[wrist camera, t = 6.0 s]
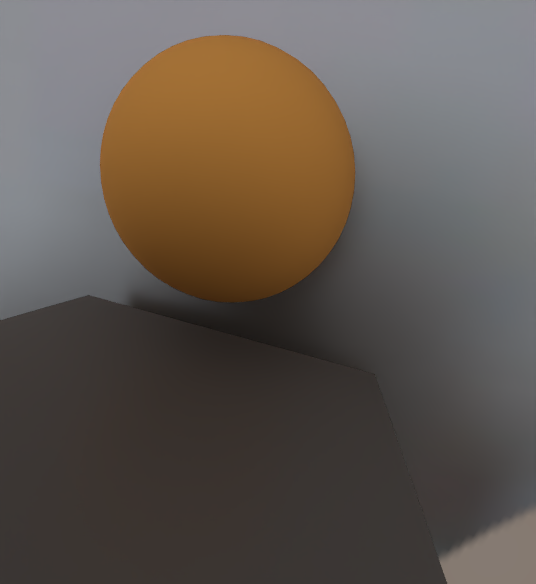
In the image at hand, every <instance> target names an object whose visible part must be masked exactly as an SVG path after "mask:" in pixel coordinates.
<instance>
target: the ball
mask: <svg viewBox="0 0 536 584" xmlns="http://www.w3.org/2000/svg"><path fill="white" fill-rule="evenodd" d="M100 171H101V184H102V189H103V194H104V200H105V203H106V206H107V209H108V213H109V215H110V218H111V220H112V222H113V224H114V227H115V229H116V231H117V232H118V234H119V236H120V237H121V239H122V241H123V242H124V244H125V245H126V246H127V248H128V249H129V250H130V252H131V253H132V254H133V255H134V257H135V258H136V259H137V260H138V261H139V262H140V263H141V264H142V265H143V266H144V267H145V268H146V269H147V270H148V271H149V272H151V273H152V274H153V275H154V276H155V277H157V278H158V279H160V280H161V281H163V282H164V283H166V284H168V285H169V286H171V287H173V288H175V289H177V290H179V291H182V292H184V293H186V294H188V295H191V296H194V297H197V298H201V299H204V300H210V301H215V302H231V303H234V302H247V301H254V300H259V299H263V298H267V297H270V296H272V295H275V294H278V293H281V292H282V291H284V290H286V289H288V288H290V287H292V286H294V285H295V284H297V283H298V282H300V281H301V280H303V279H304V278H305V277H307V276H308V275H309V274H310V273H311V272H312V271H313V270H314V269H316V268H317V267H318V266H319V265H320V264H321V262H322V261H323V260H324V259H325V258H326V256H327V255H328V254H329V253H330V251H331V250H332V248H333V247H334V245H335V244H336V242H337V240H338V239H339V237H340V235H341V232H342V230H343V228H344V226H345V224H346V221H347V218H348V215H349V212H350V209H351V204H352V198H353V193H354V184H355V162H354V152H353V147H352V142H351V137H350V134H349V131H348V128H347V125H346V122H345V120H344V117H343V115H342V114H341V112H340V110H339V108H338V106H337V104H336V102H335V100H334V99H333V97H332V96H331V94H330V93H329V91H328V90H327V88H326V87H325V86H324V84H323V83H322V82H321V81H320V80H319V79H318V78H317V76H316V75H315V74H314V73H313V72H312V71H311V70H310V69H308V68H307V67H306V66H305V65H304V64H302V63H301V62H300V61H299V60H297V59H296V58H294V57H292V56H291V55H289V54H287V53H286V52H284V51H282V50H281V49H279V48H277V47H275V46H272V45H270V44H267V43H265V42H262V41H260V40H255V39H251V38H247V37H241V36H229V35H219V36H205V37H200V38H195V39H191V40H187V41H184V42H182V43H179V44H177V45H174V46H172V47H170V48H168V49H166V50H165V51H163V52H161V53H159V54H158V55H156V56H155V57H154V58H152V59H151V60H150V61H148V62H147V63H146V64H145V65H144V66H143V67H142V68H141V69H140V70H139V71H138V72H137V73H136V74H135V75H134V76H133V77H132V78H131V79H130V80H129V82H128V83H127V84H126V85H125V87H124V88H123V89H122V91H121V93H120V94H119V96H118V98H117V100H116V101H115V103H114V105H113V107H112V110H111V112H110V114H109V117H108V119H107V123H106V126H105V130H104V133H103V139H102V145H101V156H100Z"/></svg>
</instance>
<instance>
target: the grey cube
mask: <svg viewBox="0 0 536 584" xmlns="http://www.w3.org/2000/svg"><path fill="white" fill-rule="evenodd" d="M0 584H447V582H446V579H445V577H444V573H443V570H442V568H441V565H440V562H439V559H438V556H437V553H436V550H435V547H434V544H433V542H432V539H431V536H430V533H429V530H428V527H427V524H426V521H425V518H424V516H423V513H422V510H421V507H420V504H419V501H418V498H417V495H416V492H415V490H414V487H413V484H412V481H411V478H410V475H409V472H408V469H407V466H406V463H405V461H404V458H403V455H402V452H401V449H400V446H399V443H398V440H397V437H396V435H395V432H394V429H393V426H392V423H391V420H390V417H389V414H388V411H387V409H386V406H385V403H384V400H383V397H382V394H381V391H380V388H379V385H378V383H377V380H376V377H375V374H372V373H369V372H365V371H361V370H358V369H354V368H351V367H347V366H343V365H340V364H336V363H332V362H329V361H325V360H322V359H318V358H314V357H311V356H307V355H303V354H300V353H296V352H293V351H289V350H285V349H282V348H278V347H274V346H271V345H267V344H264V343H260V342H256V341H253V340H249V339H245V338H242V337H238V336H235V335H231V334H227V333H224V332H220V331H216V330H213V329H209V328H206V327H202V326H198V325H195V324H191V323H187V322H184V321H180V320H177V319H173V318H169V317H166V316H162V315H159V314H155V313H151V312H148V311H144V310H140V309H137V308H133V307H130V306H126V305H122V304H119V303H115V302H111V301H108V300H104V299H101V298H97V297H93V296H90V295H87V296H84V297H80V298H77V299H73V300H70V301H66V302H63V303H59V304H56V305H52V306H49V307H45V308H42V309H38V310H35V311H31V312H28V313H24V314H21V315H17V316H14V317H10V318H7V319H3V320H0Z"/></svg>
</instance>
